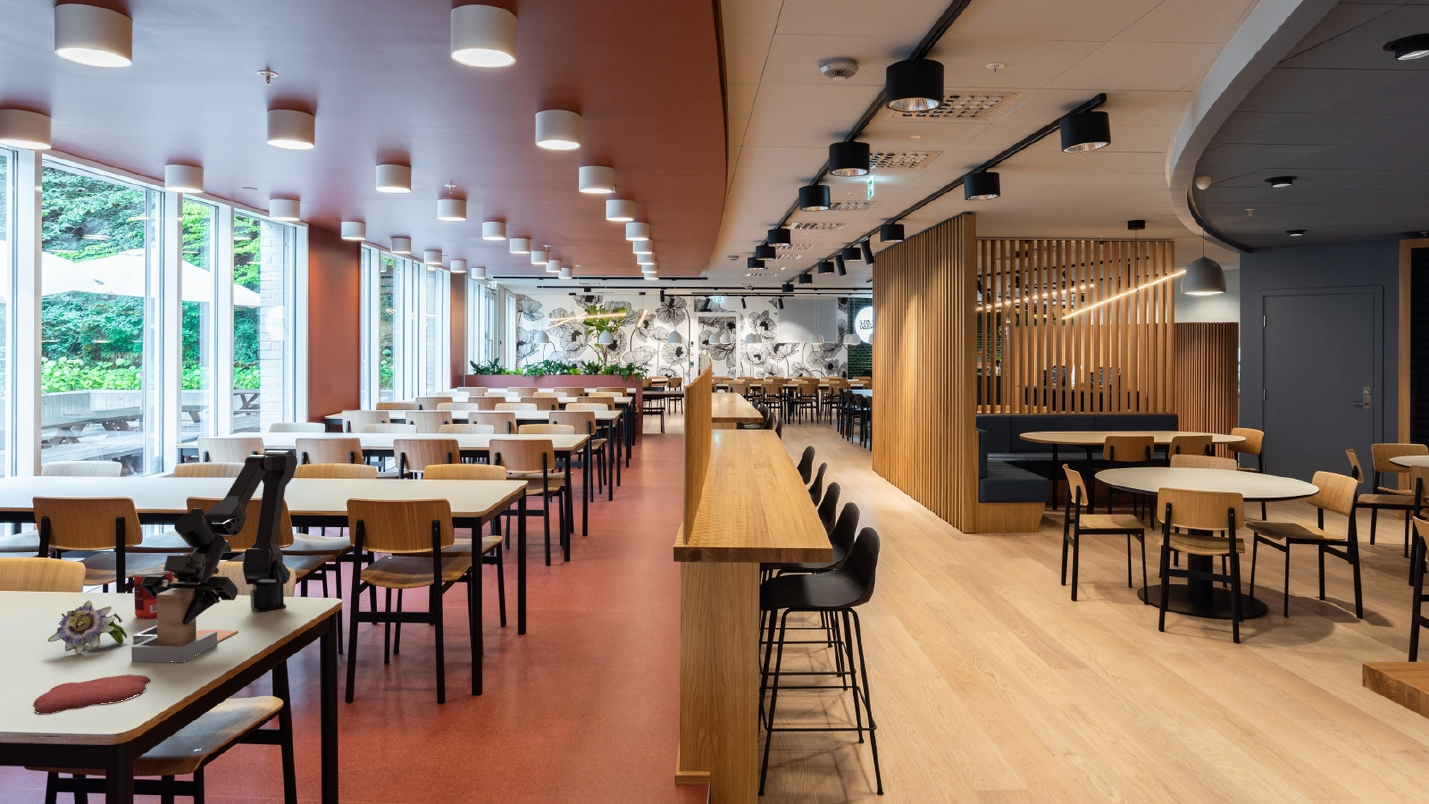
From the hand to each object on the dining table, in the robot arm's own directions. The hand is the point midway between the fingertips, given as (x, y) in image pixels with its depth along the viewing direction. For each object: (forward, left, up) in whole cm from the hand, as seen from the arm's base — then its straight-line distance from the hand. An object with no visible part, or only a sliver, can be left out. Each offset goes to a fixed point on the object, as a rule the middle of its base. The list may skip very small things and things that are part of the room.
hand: (171, 623), depth 183 cm
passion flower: (+12, -17, -7) cm, 22 cm away
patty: (+16, +15, -7) cm, 23 cm away
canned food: (-4, -35, -7) cm, 36 cm away
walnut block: (-1, -1, -7) cm, 7 cm away
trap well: (-1, -15, -7) cm, 16 cm away
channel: (-1, -1, -7) cm, 7 cm away
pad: (-8, -7, -7) cm, 13 cm away
